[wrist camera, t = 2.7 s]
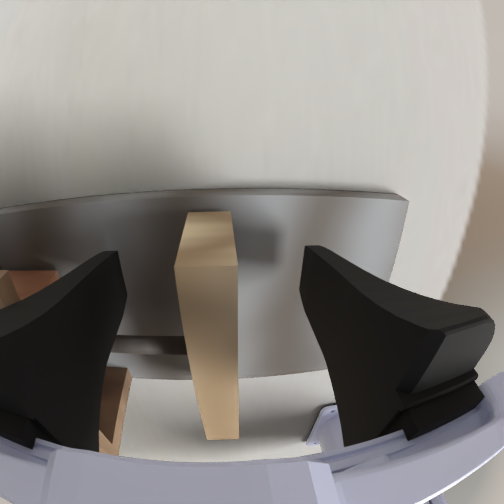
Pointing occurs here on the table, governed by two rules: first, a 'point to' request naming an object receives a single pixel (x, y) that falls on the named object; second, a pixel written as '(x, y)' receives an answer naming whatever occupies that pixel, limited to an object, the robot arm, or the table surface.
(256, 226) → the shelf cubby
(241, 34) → the table surface
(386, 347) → the robot arm
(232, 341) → the pull block
